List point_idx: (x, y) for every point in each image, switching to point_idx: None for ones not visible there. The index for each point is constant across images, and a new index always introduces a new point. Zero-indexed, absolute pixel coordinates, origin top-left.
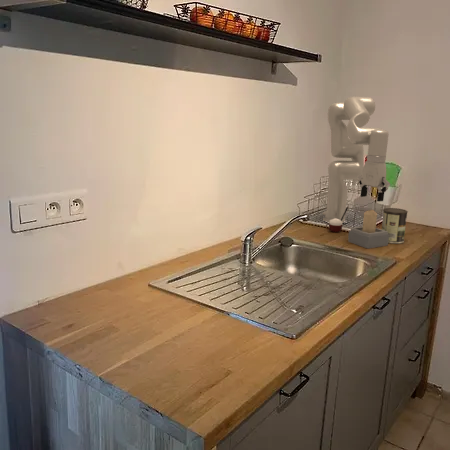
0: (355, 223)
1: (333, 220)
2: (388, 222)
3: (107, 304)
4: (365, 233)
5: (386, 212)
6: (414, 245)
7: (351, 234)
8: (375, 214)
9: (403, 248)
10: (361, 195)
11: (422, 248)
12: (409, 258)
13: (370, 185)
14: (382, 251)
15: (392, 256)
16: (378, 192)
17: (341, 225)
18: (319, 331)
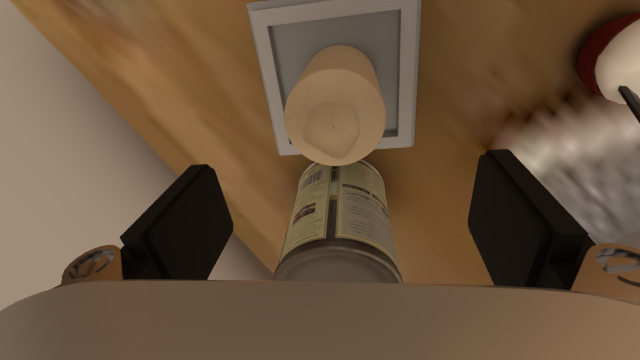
0: (613, 233)
1: None
2: (320, 207)
3: None
4: (280, 7)
5: (335, 241)
6: (266, 216)
7: None
8: (287, 130)
9: (240, 159)
10: (494, 158)
11: (230, 214)
12: (114, 89)
13: (220, 285)
14: (212, 46)
15: (138, 37)
16: (127, 235)
17: (591, 76)
18: None
